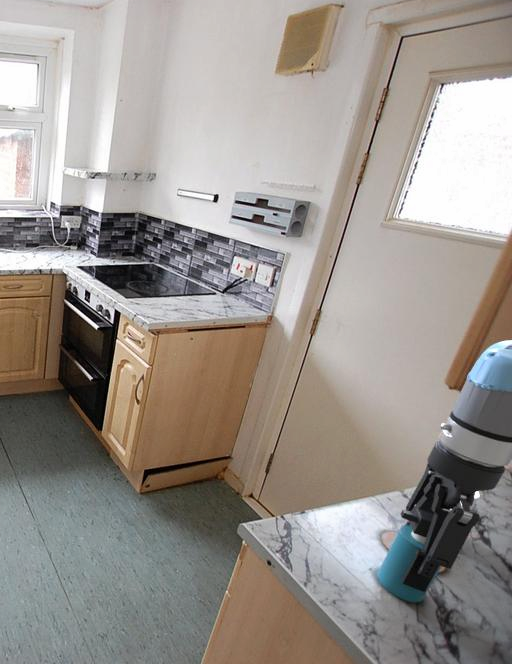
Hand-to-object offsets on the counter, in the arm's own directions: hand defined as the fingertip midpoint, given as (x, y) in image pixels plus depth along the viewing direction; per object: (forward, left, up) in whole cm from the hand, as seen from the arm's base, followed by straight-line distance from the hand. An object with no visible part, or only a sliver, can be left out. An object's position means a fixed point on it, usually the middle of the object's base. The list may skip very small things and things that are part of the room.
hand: (407, 570), depth 74 cm
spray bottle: (0, 0, -3) cm, 3 cm away
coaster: (-4, -11, -3) cm, 12 cm away
